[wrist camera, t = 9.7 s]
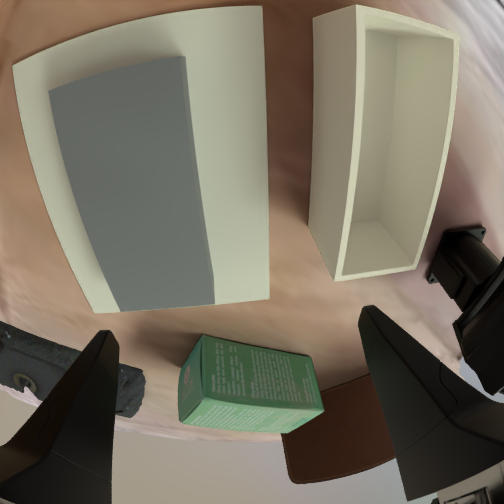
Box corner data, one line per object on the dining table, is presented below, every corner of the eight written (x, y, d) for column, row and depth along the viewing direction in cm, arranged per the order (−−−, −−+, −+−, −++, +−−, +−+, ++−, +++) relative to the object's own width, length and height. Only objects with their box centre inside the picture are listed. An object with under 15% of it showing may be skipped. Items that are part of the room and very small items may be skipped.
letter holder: (274, 404, 40) (290, 490, 29) (400, 358, 38) (435, 440, 27) (291, 421, 46) (306, 492, 35) (398, 382, 44) (425, 451, 32)
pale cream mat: (261, 6, 13) (262, 5, 12) (268, 295, 26) (269, 298, 25) (15, 64, 11) (12, 65, 11) (95, 310, 25) (94, 313, 24)
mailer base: (398, 31, 13) (459, 34, 9) (378, 221, 22) (415, 269, 18) (312, 17, 13) (355, 4, 8) (307, 227, 22) (334, 281, 17)
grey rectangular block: (185, 56, 14) (179, 56, 11) (214, 277, 23) (214, 304, 21) (70, 83, 13) (48, 90, 11) (127, 285, 23) (120, 311, 21)
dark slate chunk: (136, 410, 39) (134, 437, 36) (10, 370, 32) (2, 395, 28) (152, 365, 32) (150, 401, 28) (-12, 310, 24) (-27, 341, 20)
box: (198, 331, 28) (199, 401, 22) (311, 353, 33) (327, 410, 27) (177, 367, 32) (176, 427, 26) (279, 383, 36) (289, 434, 30)
